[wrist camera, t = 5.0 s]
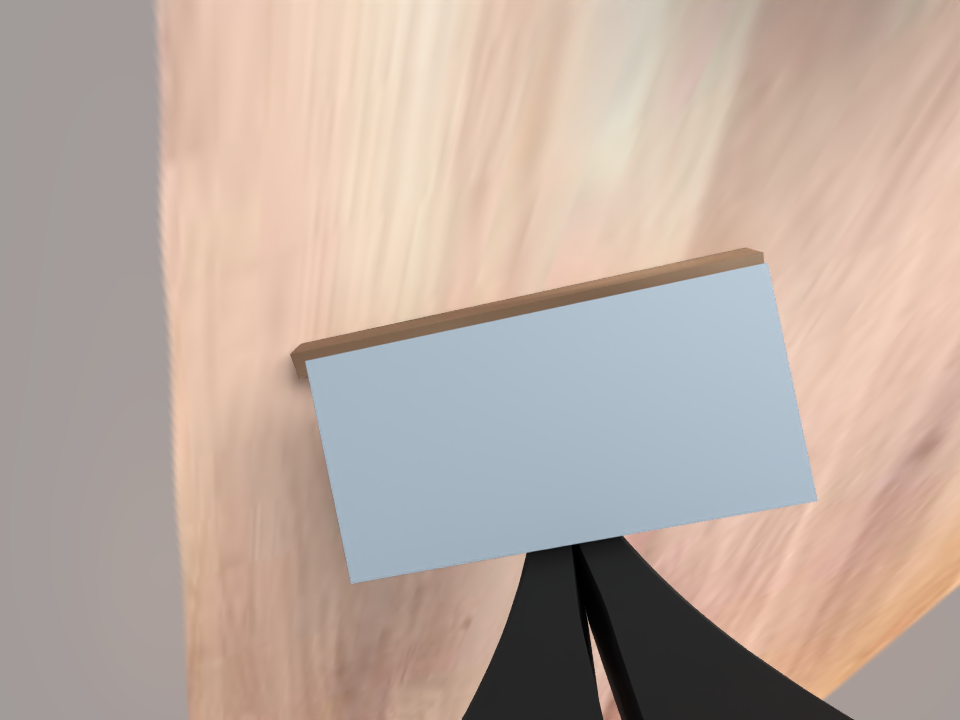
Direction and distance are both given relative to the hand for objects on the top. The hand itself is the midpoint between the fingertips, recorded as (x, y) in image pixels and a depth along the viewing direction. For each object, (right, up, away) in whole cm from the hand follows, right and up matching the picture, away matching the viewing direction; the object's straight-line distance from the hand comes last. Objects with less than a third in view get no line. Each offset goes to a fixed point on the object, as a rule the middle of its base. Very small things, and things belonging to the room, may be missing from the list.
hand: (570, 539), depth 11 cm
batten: (-1, +6, +5) cm, 7 cm away
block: (0, +3, +5) cm, 6 cm away
